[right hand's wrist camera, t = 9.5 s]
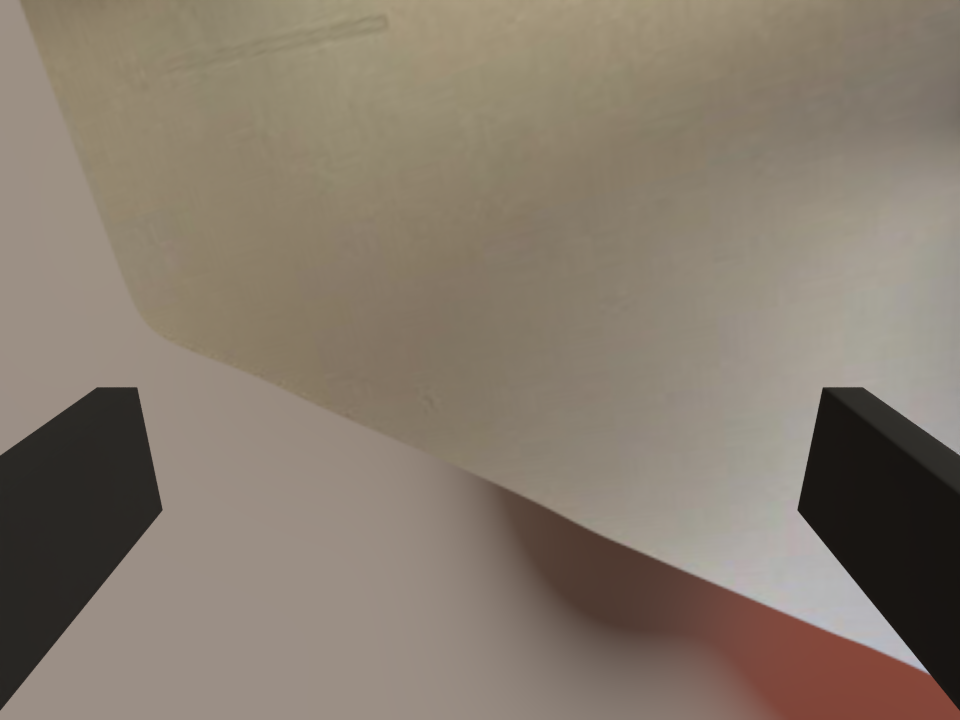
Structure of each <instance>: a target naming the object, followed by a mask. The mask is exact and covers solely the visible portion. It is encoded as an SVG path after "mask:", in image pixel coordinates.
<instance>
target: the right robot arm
mask: <svg viewBox="0 0 960 720" xmlns="http://www.w3.org/2000/svg"><path fill="white" fill-rule="evenodd" d="M161 511H162V505H161V500H160V495H159V491H158V486H157V481H156V476H155V471H154V466H153V462H152V457H151V452H150V447H149V442H148V437H147V433H146V428H145V423H144V418H143V413H142V408H141V404H140V399H139V394H138V389H137V388H136V387H131V388H130V387H127V388H126V387H121V388H120V387H109V388H108V387H104V388H103V387H100V388H99V387H97V388H96V389H94V390H93V391H91V392H90V393H89V394H87V395H86V396H84V397H83V398H81V399H80V400H79V401H77V402H76V403H74V404H73V405H72V406H70V407H69V408H67V409H66V410H64V411H63V412H62V413H60V414H59V415H57V416H56V417H54V418H53V419H52V420H50V421H49V422H47V423H46V424H45V425H43V426H42V427H40V428H39V429H37V430H36V431H35V432H33V433H32V434H30V435H29V436H27V437H26V438H25V439H23V440H22V441H20V442H19V443H17V444H16V445H15V446H13V447H12V448H10V449H9V450H8V451H6V452H5V453H3V454H2V455H0V710H1V709H2V708H3V707H4V705H5V704H6V703H7V702H8V700H9V699H10V698H11V697H12V695H13V694H14V693H15V692H16V690H17V689H18V688H19V687H20V686H21V684H22V683H23V682H24V681H25V679H26V678H27V677H28V676H29V674H30V673H31V672H32V671H33V670H34V668H35V667H36V666H37V665H38V663H39V662H40V661H41V660H42V658H43V657H44V656H45V655H46V653H47V652H48V651H49V650H50V648H51V647H52V646H53V645H54V644H55V642H56V641H57V640H58V639H59V637H60V636H61V635H62V634H63V632H64V631H65V630H66V629H67V627H68V626H69V625H70V624H71V622H72V621H73V620H74V619H75V618H76V616H77V615H78V614H79V613H80V611H81V610H82V609H83V608H84V606H85V605H86V604H87V603H88V602H89V600H90V599H91V598H92V597H93V595H94V594H95V593H96V592H97V590H98V589H99V588H100V587H101V586H102V584H103V583H104V582H105V581H106V579H107V578H108V577H109V576H110V574H111V573H112V572H113V571H114V569H115V568H116V567H117V566H118V564H119V563H120V562H121V561H122V560H123V558H124V557H125V556H126V555H127V553H128V552H129V551H130V550H131V548H132V547H133V546H134V545H135V544H136V542H137V541H138V540H139V539H140V537H141V536H142V535H143V534H144V532H145V531H146V530H147V529H148V528H149V526H150V525H151V524H152V523H153V521H154V520H155V519H156V518H157V516H158V515H159V514H160V513H161ZM798 511H799V513H800V514H801V515H802V516H803V518H804V519H805V520H806V521H807V523H808V524H809V525H810V526H811V528H812V529H813V530H814V531H815V532H816V534H817V535H818V536H819V537H820V539H821V540H822V541H823V542H824V544H825V545H826V546H827V547H828V549H829V550H830V551H831V552H832V553H833V555H834V556H835V557H836V558H837V560H838V561H839V562H840V563H841V565H842V566H843V567H844V568H845V569H846V571H847V572H848V573H849V574H850V576H851V577H852V578H853V579H854V581H855V582H856V583H857V584H858V586H859V587H860V588H861V589H862V590H863V592H864V593H865V594H866V595H867V597H868V598H869V599H870V600H871V602H872V603H873V604H874V605H875V607H876V608H877V609H878V610H879V611H880V613H881V614H882V615H883V616H884V618H885V619H886V620H887V621H888V623H889V624H890V625H891V626H892V628H893V629H894V630H895V631H896V632H897V634H898V635H899V636H900V637H901V639H902V640H903V641H904V642H905V644H906V645H907V646H908V647H909V649H910V650H911V651H912V652H913V653H914V655H915V656H916V657H917V658H918V660H919V661H920V662H921V663H922V665H923V666H924V667H925V668H926V670H927V671H928V672H929V673H930V674H931V676H932V677H933V678H934V679H935V681H936V682H937V683H938V684H939V686H940V687H941V688H942V689H943V690H944V692H945V693H946V694H947V695H948V697H949V698H950V699H951V700H952V702H953V703H954V704H955V705H956V706H957V708H958V709H959V710H960V455H958V454H957V453H955V452H954V451H952V450H951V449H950V448H948V447H947V446H945V445H944V444H943V443H941V442H940V441H938V440H937V439H935V438H934V437H933V436H931V435H930V434H928V433H927V432H925V431H924V430H923V429H921V428H920V427H918V426H917V425H915V424H914V423H913V422H911V421H910V420H908V419H907V418H906V417H904V416H903V415H901V414H900V413H898V412H897V411H896V410H894V409H893V408H891V407H890V406H888V405H887V404H886V403H884V402H883V401H881V400H880V399H879V398H877V397H876V396H874V395H873V394H871V393H870V392H869V391H867V390H866V389H864V388H863V387H823V389H822V394H821V399H820V404H819V408H818V413H817V418H816V423H815V428H814V433H813V437H812V442H811V447H810V452H809V457H808V462H807V466H806V471H805V476H804V481H803V486H802V491H801V495H800V500H799V505H798Z"/></svg>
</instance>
